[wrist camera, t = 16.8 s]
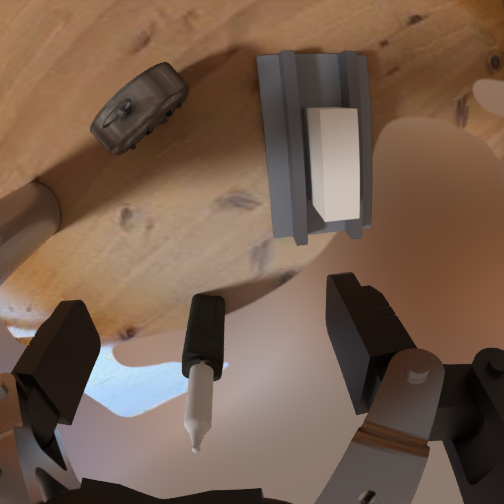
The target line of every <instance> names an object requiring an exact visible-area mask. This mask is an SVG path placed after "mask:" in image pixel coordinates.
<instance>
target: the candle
mask: <svg viewBox="0 0 504 504" xmlns="http://www.w3.org/2000/svg"><path fill="white" fill-rule="evenodd" d="M224 322H225V300H224V299H223V298H222V297H220V296H217V297H213V296H205V295H201V294H196V295H194V296H193V298H192V303H191V308H190V314H189V320H188V325H187V331H186V337H185V343H184V350H183V355H182V374H183V375H184V376H185V377H186V378H189V382H188V391H187V400H186V408H185V418H184V426H185V428H186V429H187V431H188V432H189V434H190V437H191V440H192V444H193V447H192V451H194V452H195V453H197V452H199V451H200V447H199V446H200V444H201V442H202V439H203V437H204V435H205V434H206V433H207V432H208V431H209V430H210V428H211V420H212V395H213V381H217V380H219V379H220V378H221V375H222V369H223V361H224V360H223V359H224Z"/></svg>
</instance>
